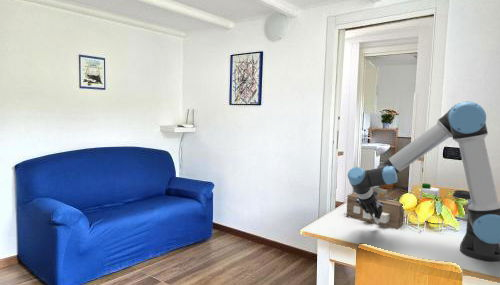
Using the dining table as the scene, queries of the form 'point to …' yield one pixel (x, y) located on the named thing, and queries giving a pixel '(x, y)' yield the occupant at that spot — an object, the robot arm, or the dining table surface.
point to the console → (388, 206)
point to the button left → (357, 209)
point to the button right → (385, 217)
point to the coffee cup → (465, 196)
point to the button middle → (366, 215)
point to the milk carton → (429, 190)
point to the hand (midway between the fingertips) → (378, 220)
